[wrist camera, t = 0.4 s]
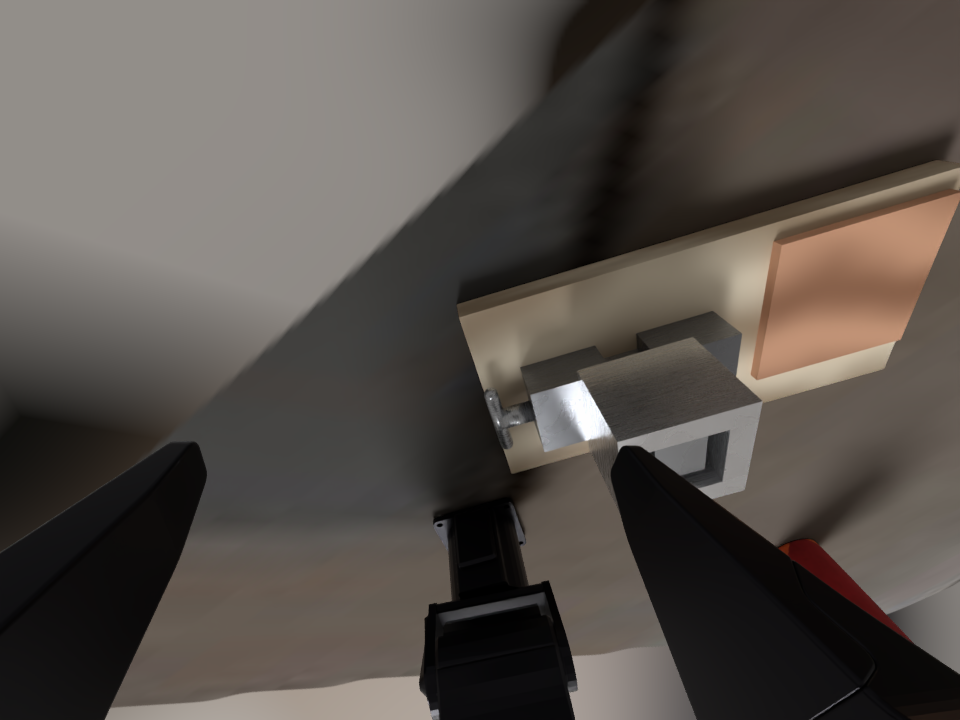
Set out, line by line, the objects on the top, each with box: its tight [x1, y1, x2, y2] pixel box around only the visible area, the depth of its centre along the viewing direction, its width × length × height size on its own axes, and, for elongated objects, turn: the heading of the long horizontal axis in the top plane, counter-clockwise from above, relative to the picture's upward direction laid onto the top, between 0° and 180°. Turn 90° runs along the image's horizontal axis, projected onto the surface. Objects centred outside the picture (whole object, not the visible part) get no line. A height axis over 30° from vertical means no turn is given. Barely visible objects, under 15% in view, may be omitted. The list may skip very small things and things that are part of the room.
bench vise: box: [484, 311, 742, 476], centre depth 21 cm, size 5×14×7 cm, turn 105°
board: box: [456, 160, 960, 474], centre depth 24 cm, size 13×26×2 cm, turn 105°
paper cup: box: [779, 539, 913, 643], centre depth 39 cm, size 8×8×14 cm
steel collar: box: [577, 337, 763, 512], centre depth 20 cm, size 6×6×5 cm
